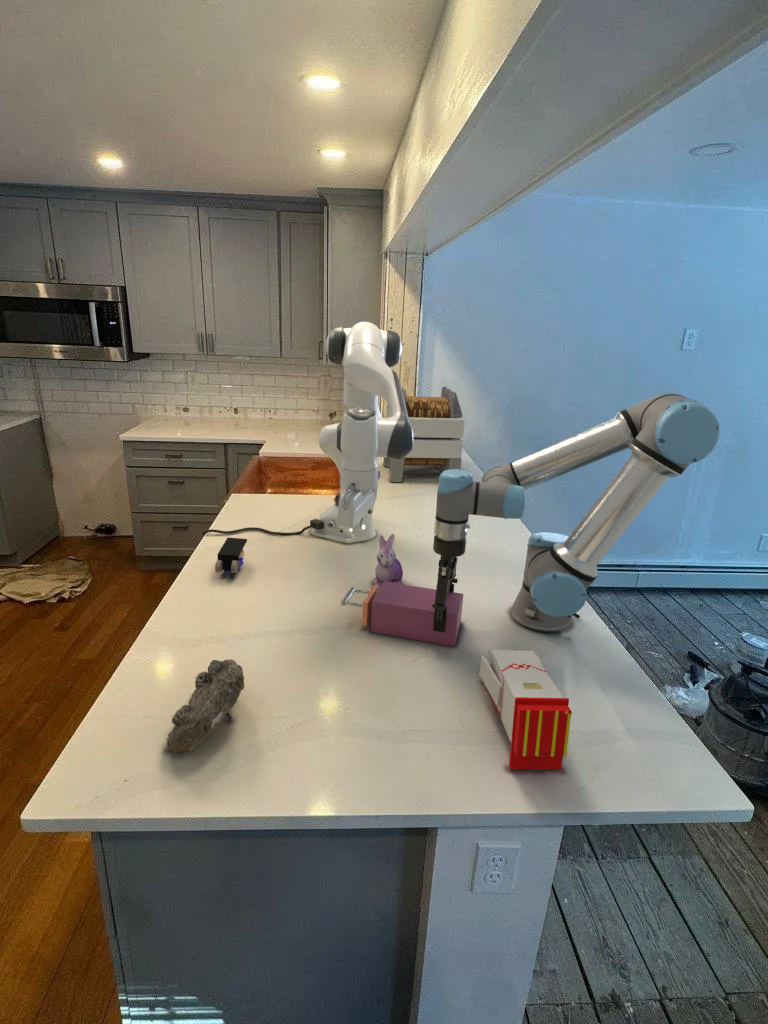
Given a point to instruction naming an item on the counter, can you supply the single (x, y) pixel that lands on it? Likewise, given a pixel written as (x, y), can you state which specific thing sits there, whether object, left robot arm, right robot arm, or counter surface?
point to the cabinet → (414, 613)
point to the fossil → (206, 705)
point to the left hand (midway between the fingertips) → (357, 533)
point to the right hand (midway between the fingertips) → (443, 618)
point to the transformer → (431, 433)
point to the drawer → (366, 604)
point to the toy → (528, 708)
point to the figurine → (387, 563)
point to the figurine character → (230, 556)
